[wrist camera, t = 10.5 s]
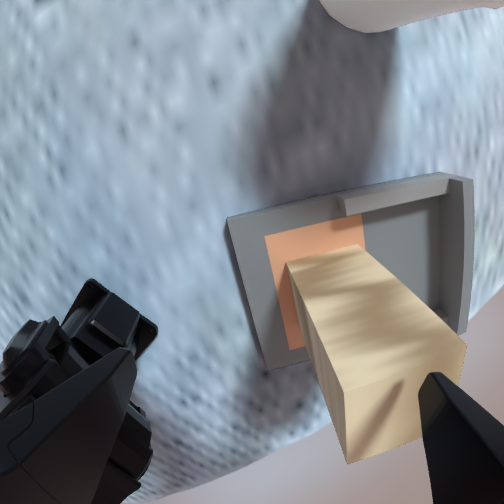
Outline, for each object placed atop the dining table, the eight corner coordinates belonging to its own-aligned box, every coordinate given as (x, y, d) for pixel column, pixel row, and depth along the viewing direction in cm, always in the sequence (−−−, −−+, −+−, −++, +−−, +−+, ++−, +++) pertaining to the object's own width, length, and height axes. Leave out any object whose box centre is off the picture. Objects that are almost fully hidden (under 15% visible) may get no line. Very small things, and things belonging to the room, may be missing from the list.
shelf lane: (266, 362, 25) (271, 397, 21) (227, 217, 21) (226, 234, 17) (441, 309, 24) (466, 332, 21) (439, 171, 20) (472, 179, 17)
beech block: (298, 325, 22) (347, 464, 11) (285, 261, 21) (343, 392, 9) (363, 307, 22) (446, 425, 11) (357, 244, 21) (467, 344, 9)
